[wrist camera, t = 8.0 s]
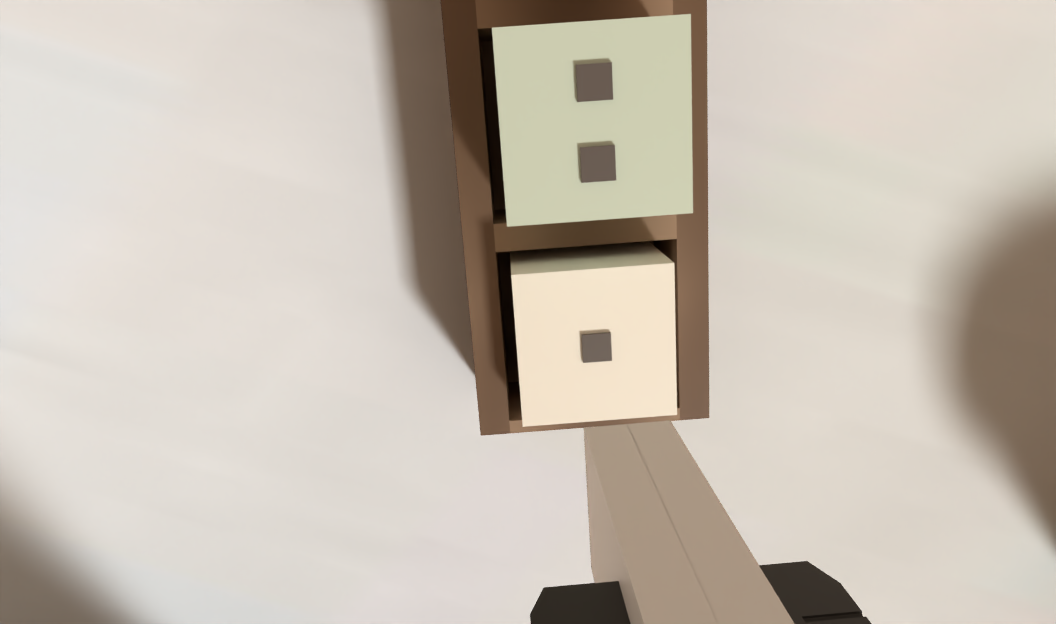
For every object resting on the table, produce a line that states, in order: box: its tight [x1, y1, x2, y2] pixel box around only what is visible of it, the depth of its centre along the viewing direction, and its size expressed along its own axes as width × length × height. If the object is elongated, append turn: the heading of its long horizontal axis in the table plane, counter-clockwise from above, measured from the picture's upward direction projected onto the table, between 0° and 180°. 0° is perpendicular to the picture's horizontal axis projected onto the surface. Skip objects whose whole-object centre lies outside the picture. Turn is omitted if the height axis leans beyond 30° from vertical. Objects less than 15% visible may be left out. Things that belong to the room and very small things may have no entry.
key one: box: [510, 241, 677, 427], centre depth 22 cm, size 4×4×5 cm
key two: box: [492, 14, 693, 227], centre depth 19 cm, size 4×4×5 cm
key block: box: [441, 0, 709, 435], centre depth 22 cm, size 7×18×4 cm, turn 4°
